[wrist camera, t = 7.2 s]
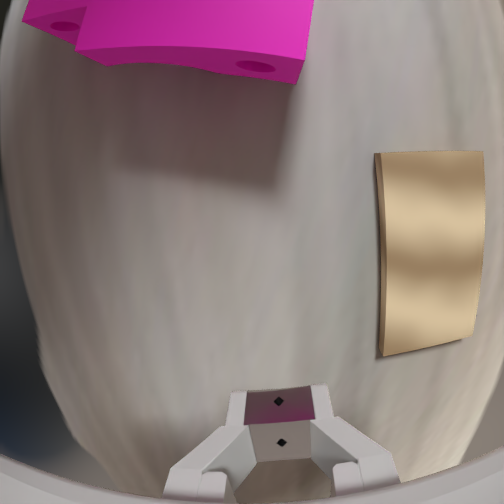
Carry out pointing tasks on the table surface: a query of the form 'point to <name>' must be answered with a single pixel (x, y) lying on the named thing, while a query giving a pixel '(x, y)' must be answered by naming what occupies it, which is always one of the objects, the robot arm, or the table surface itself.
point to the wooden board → (429, 246)
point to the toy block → (184, 33)
